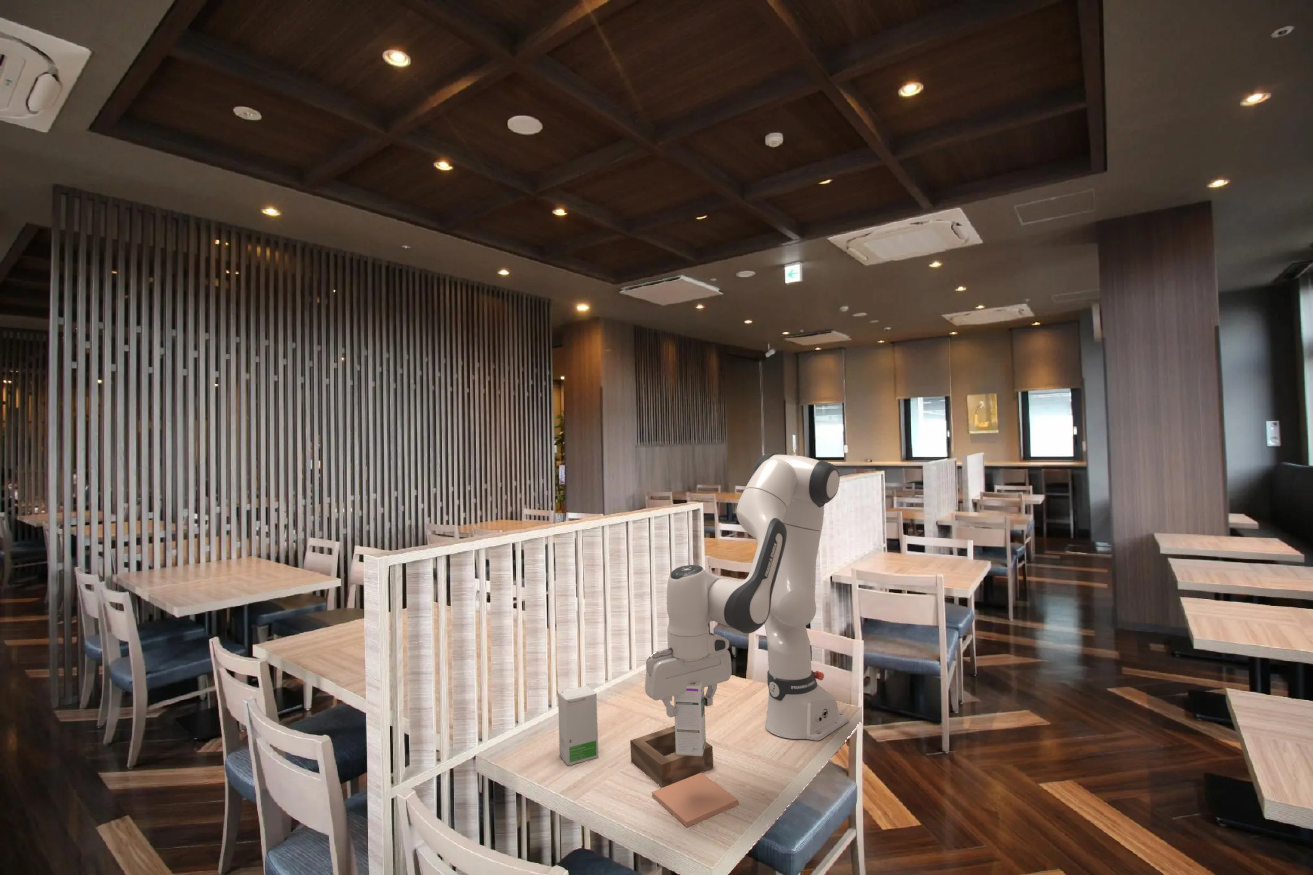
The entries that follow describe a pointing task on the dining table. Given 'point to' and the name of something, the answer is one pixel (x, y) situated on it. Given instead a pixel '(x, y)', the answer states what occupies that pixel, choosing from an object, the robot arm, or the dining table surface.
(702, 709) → the syrup box
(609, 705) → the dining table surface
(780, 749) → the dining table surface
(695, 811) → the terracotta tile
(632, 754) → the holder sleeve
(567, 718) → the skincare box
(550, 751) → the dining table surface
